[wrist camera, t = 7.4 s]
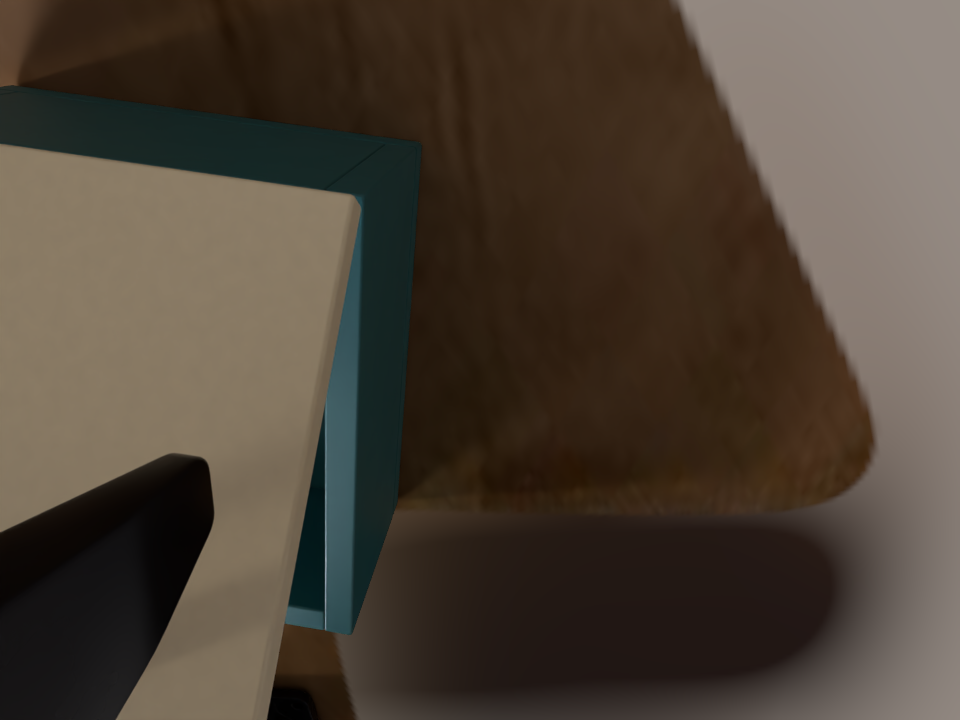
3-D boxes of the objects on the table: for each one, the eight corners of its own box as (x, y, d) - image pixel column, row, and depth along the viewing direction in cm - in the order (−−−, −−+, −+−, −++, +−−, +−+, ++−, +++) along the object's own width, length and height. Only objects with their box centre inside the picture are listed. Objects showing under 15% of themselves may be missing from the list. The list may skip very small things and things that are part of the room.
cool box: (397, 502, 24) (351, 636, 19) (88, 450, 24) (-38, 567, 19) (422, 141, 18) (365, 194, 13) (12, 84, 18) (-201, 113, 13)
